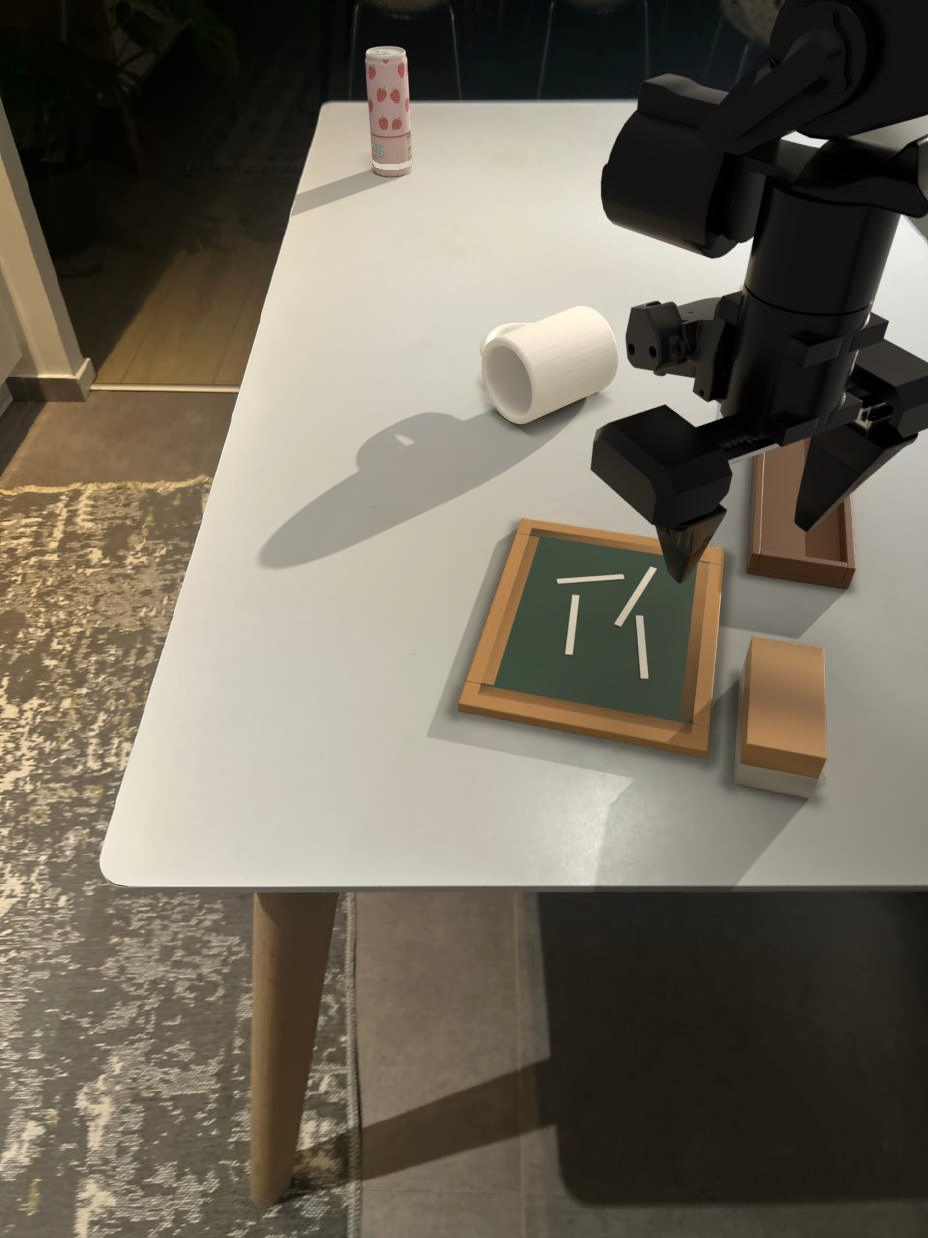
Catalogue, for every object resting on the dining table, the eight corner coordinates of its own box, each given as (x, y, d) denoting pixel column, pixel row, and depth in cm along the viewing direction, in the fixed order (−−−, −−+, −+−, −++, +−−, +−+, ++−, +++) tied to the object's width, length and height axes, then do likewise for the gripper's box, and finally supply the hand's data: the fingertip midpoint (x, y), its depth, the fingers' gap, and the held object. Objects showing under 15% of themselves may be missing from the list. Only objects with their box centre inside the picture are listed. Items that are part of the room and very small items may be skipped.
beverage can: (366, 167, 133) (357, 48, 123) (402, 160, 135) (395, 43, 125) (383, 179, 130) (374, 58, 119) (419, 172, 132) (414, 52, 121)
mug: (614, 402, 87) (624, 323, 82) (534, 439, 83) (538, 358, 77) (532, 353, 94) (536, 277, 89) (454, 385, 90) (453, 307, 84)
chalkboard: (723, 556, 71) (725, 547, 71) (705, 758, 57) (708, 750, 57) (521, 525, 74) (521, 516, 74) (457, 711, 60) (457, 702, 60)
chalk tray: (836, 379, 90) (842, 360, 89) (848, 589, 68) (856, 568, 67) (758, 370, 91) (762, 351, 90) (746, 573, 70) (752, 553, 68)
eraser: (739, 677, 62) (751, 635, 59) (808, 689, 61) (824, 647, 59) (733, 784, 56) (746, 743, 53) (809, 799, 55) (827, 758, 52)
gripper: (832, 192, 50) (769, 438, 61) (538, 265, 44) (527, 525, 54) (1008, 267, 43) (901, 531, 54) (687, 368, 36) (639, 643, 47)
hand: (741, 551), depth 52 cm, fingers open, 9 cm apart
